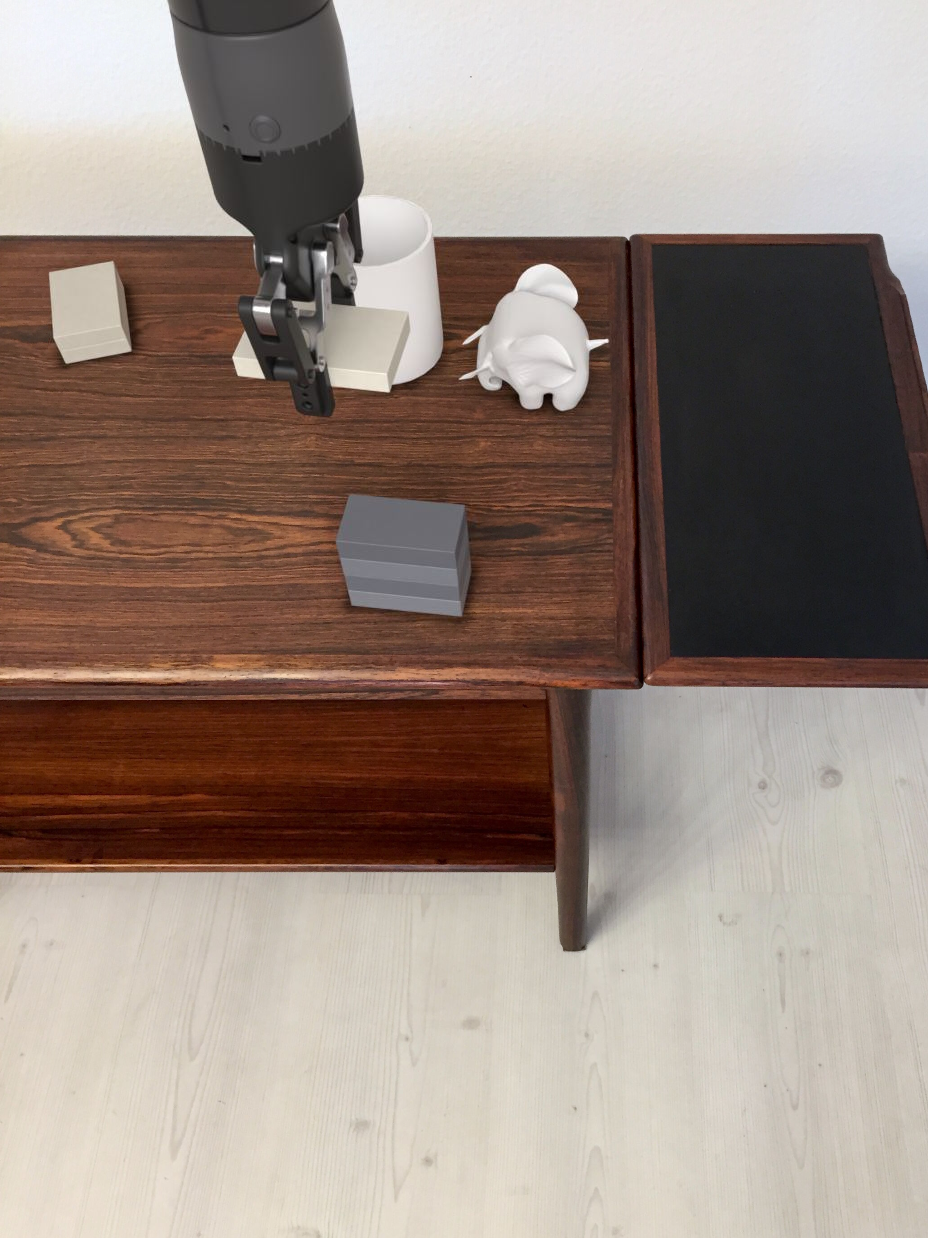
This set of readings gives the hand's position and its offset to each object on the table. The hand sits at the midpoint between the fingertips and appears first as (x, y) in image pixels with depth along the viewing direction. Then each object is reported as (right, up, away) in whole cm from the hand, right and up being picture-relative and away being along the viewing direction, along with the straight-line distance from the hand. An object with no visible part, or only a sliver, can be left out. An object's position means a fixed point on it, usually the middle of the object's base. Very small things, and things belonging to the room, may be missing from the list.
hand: (330, 376), depth 64 cm
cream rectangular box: (-26, +12, +29) cm, 41 cm away
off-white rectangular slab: (0, +1, -1) cm, 2 cm away
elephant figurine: (+12, +5, +25) cm, 28 cm away
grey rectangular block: (+3, -12, +13) cm, 18 cm away
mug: (0, +10, +28) cm, 29 cm away
